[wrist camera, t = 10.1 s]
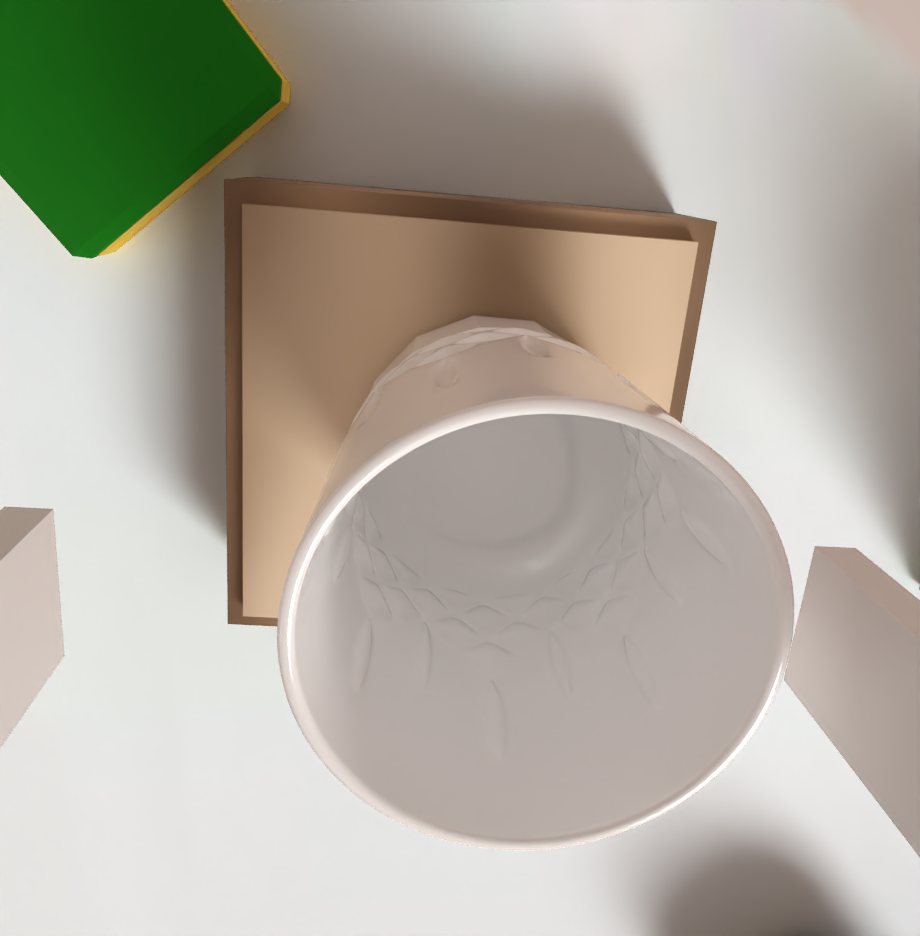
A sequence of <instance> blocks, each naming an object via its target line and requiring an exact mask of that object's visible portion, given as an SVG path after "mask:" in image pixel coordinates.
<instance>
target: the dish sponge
mask: <svg viewBox="0 0 920 936" xmlns="http://www.w3.org/2000/svg"><path fill="white" fill-rule="evenodd" d="M290 91H291V85H290V83H289V82H288V81H287V79H286V78H285V77H284V75H283V74H282V73H281V71H280V70H279V69H278V67H277V66H276V65H275V63H274V62H273V61H272V59H271V58H270V57H269V55H268V54H267V53H266V51H265V50H264V49H263V47H262V46H261V45H260V43H259V42H258V41H257V39H256V38H255V37H254V35H253V34H252V33H251V31H250V30H249V29H248V27H247V26H246V25H245V23H244V22H243V21H242V19H241V18H240V17H239V15H238V14H237V13H236V11H235V10H234V9H233V7H232V6H231V5H230V3H229V2H228V1H227V0H0V175H1V176H2V177H3V179H4V180H5V181H6V182H7V183H8V184H9V185H10V186H11V187H12V189H13V190H14V191H15V192H16V193H17V194H18V195H19V196H20V198H21V199H22V200H23V201H24V202H25V203H26V204H27V205H28V206H29V208H30V209H31V210H32V211H33V212H34V213H35V214H36V215H37V217H38V218H39V219H40V220H41V221H42V222H43V223H44V224H45V225H46V227H47V228H48V229H49V230H50V231H51V232H52V233H53V234H54V236H55V237H56V238H57V239H58V240H59V241H60V242H61V243H62V245H63V246H64V247H65V248H66V249H67V250H68V251H69V252H70V253H71V255H72V256H78V257H86V258H94V257H97V256H101V255H105V254H108V253H112V252H115V251H117V250H118V249H119V248H120V247H122V246H123V245H124V244H125V243H126V242H127V241H129V240H130V239H131V238H132V237H133V236H135V235H136V234H137V233H138V232H139V231H140V230H142V229H143V228H144V227H145V226H146V225H148V224H149V223H150V222H151V221H152V220H153V219H155V218H156V217H157V216H158V215H159V214H161V213H162V212H163V211H164V210H165V209H166V208H168V207H169V206H170V205H171V204H172V203H174V202H175V201H176V200H177V199H178V198H179V197H181V196H182V195H183V194H184V193H185V192H187V191H188V190H189V189H190V188H191V187H192V186H194V185H195V184H196V183H197V182H198V181H200V180H201V179H202V178H203V177H204V176H205V175H207V174H208V173H209V172H210V171H211V170H213V169H214V168H215V167H216V166H217V165H218V164H220V163H221V162H222V161H223V160H224V159H226V158H227V157H228V156H229V155H230V154H231V153H233V152H234V151H235V150H236V149H237V148H239V147H240V146H241V145H242V144H243V143H244V142H246V141H247V140H248V139H249V138H250V137H252V136H253V135H254V134H255V133H256V132H258V131H259V130H260V129H261V128H262V127H263V126H265V125H266V124H267V123H268V122H269V121H271V120H272V119H273V118H274V117H275V116H276V115H278V114H279V113H280V112H281V111H282V110H284V109H285V108H286V107H287V106H288V105H289V104H290Z"/></svg>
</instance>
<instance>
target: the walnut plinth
mask: <svg viewBox="0 0 920 936" xmlns="http://www.w3.org/2000/svg"><path fill="white" fill-rule="evenodd" d="M716 224H717V222H715V221H711V220H706V219H701V218H696V217H691V216H686V215H681V214H676V213H665V212H654V211H642V210H630V209H619V208H607V207H595V206H584V205H572V204H561V203H549V202H537V201H526V200H514V199H502V198H491V197H479V196H468V195H456V194H444V193H433V192H421V191H409V190H398V189H386V188H375V187H363V186H351V185H340V184H328V183H316V182H305V181H293V180H282V179H270V178H258V177H246V178H236V179H225V180H224V228H225V347H226V466H227V585H228V624H242V625H262V626H278V614H279V606H280V600H281V595H282V591H283V587H284V583H285V579H286V576H287V573H288V570H289V567H290V564H291V561H292V559H293V556H294V554H295V552H296V549H297V547H298V545H299V542H300V540H301V538H302V536H303V533H304V531H305V529H306V526H307V524H308V521H309V519H310V517H311V514H312V512H313V509H314V507H315V505H316V502H317V500H318V497H319V495H320V492H321V490H322V487H323V485H324V482H325V480H326V478H327V475H328V472H329V470H330V467H331V465H332V463H333V461H334V458H335V456H336V454H337V452H338V450H339V448H340V446H341V444H342V442H343V440H344V438H345V436H346V435H347V433H348V430H349V428H350V426H351V424H352V422H353V420H354V418H355V416H356V414H357V412H358V411H359V409H360V407H361V406H362V404H363V403H364V401H365V400H366V398H367V397H368V395H369V394H370V391H371V388H372V385H373V383H374V380H375V379H376V378H377V377H378V376H379V375H380V374H381V373H382V372H383V371H384V370H385V369H386V368H387V366H388V365H389V364H390V363H391V362H392V361H393V360H394V359H395V358H396V357H397V356H398V355H399V354H400V353H401V352H402V351H403V350H404V349H405V348H406V347H407V346H408V345H409V344H410V343H411V341H412V340H413V339H414V338H415V337H417V336H419V335H422V334H424V333H427V332H430V331H432V330H435V329H438V328H441V327H443V326H446V325H449V324H451V323H454V322H457V321H459V320H462V319H465V318H468V317H470V316H473V315H477V316H487V317H498V318H509V319H519V320H530V321H535V322H537V323H539V324H540V325H542V326H544V327H545V328H547V329H548V330H550V331H552V332H553V333H555V334H557V335H558V336H560V337H561V338H563V339H565V340H566V341H568V342H570V343H573V344H575V345H577V346H579V347H581V348H583V349H585V350H587V351H588V352H590V353H591V354H593V355H594V356H595V357H597V358H598V359H599V360H601V361H602V362H604V363H605V364H607V365H608V366H609V367H611V368H612V369H613V370H615V371H616V372H617V373H619V374H620V375H622V376H623V377H625V378H626V379H628V380H629V381H630V382H632V383H633V384H634V385H636V386H637V387H638V388H639V389H640V390H642V391H643V392H644V393H645V394H646V395H648V396H649V397H650V398H651V399H652V400H654V401H655V402H656V403H657V404H658V405H660V406H661V407H662V408H663V409H664V410H665V411H667V412H668V413H669V414H670V415H671V416H673V417H674V418H675V419H676V420H677V421H679V422H680V423H681V422H682V416H683V411H684V405H685V399H686V394H687V388H688V382H689V377H690V371H691V365H692V360H693V354H694V348H695V343H696V337H697V331H698V326H699V320H700V314H701V309H702V303H703V298H704V292H705V286H706V281H707V275H708V269H709V264H710V258H711V252H712V247H713V241H714V235H715V230H716Z"/></svg>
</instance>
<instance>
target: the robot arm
mask: <svg viewBox="0 0 920 936" xmlns="http://www.w3.org/2000/svg"><path fill="white" fill-rule="evenodd" d="M63 657H64V645H63V632H62V619H61V605H60V592H59V578H58V565H57V552H56V538H55V525H54V512H53V509H41V508H20V507H4V508H3V509H2V510H0V748H1V747H2V745H3V744H4V742H5V741H6V739H7V738H8V736H9V735H10V734H11V732H12V731H13V729H14V728H15V726H16V725H17V723H18V722H19V721H20V719H21V718H22V716H23V715H24V713H25V712H26V710H27V709H28V707H29V706H30V705H31V703H32V702H33V700H34V699H35V697H36V696H37V694H38V693H39V691H40V690H41V689H42V687H43V686H44V684H45V683H46V681H47V680H48V678H49V677H50V676H51V674H52V673H53V671H54V670H55V668H56V667H57V665H58V664H59V662H60V661H61V660H62V658H63ZM784 681H785V682H786V683H787V685H788V686H789V687H790V688H791V690H792V691H793V692H794V694H795V695H796V696H797V698H798V699H799V700H800V701H801V703H802V704H803V705H804V707H805V708H806V709H807V711H808V712H809V713H810V715H811V716H812V717H813V718H814V720H815V721H816V722H817V724H818V725H819V726H820V728H821V729H822V730H823V732H824V733H825V734H826V735H827V737H828V738H829V739H830V741H831V742H832V743H833V745H834V746H835V747H836V748H837V750H838V751H839V752H840V754H841V755H842V756H843V758H844V759H845V760H846V762H847V763H848V764H849V765H850V767H851V768H852V769H853V771H854V772H855V773H856V775H857V776H858V777H859V779H860V780H861V781H862V782H863V784H864V785H865V786H866V788H867V789H868V790H869V792H870V793H871V794H872V795H873V797H874V798H875V799H876V801H877V802H878V803H879V805H880V806H881V807H882V809H883V810H884V811H885V812H886V814H887V815H888V816H889V818H890V819H891V820H892V822H893V823H894V824H895V825H896V827H897V828H898V829H899V831H900V832H901V833H902V835H903V836H904V837H905V839H906V840H907V841H908V842H909V844H910V845H911V846H912V848H913V849H914V850H915V852H916V853H917V854H918V856H919V857H920V600H919V599H917V598H916V597H915V596H914V595H912V594H911V593H910V592H909V591H908V590H906V589H905V588H904V587H903V586H901V585H900V584H899V583H898V582H897V581H895V580H894V579H893V578H892V577H890V576H889V575H888V574H887V573H885V572H884V571H883V570H882V569H881V568H879V567H878V566H877V565H876V564H874V563H873V562H872V561H871V560H870V559H868V558H867V557H866V556H865V555H863V554H862V553H861V552H860V551H858V550H857V549H856V548H840V547H820V546H815V548H814V553H813V557H812V561H811V566H810V570H809V574H808V578H807V583H806V587H805V591H804V595H803V600H802V604H801V608H800V612H799V617H798V621H797V625H796V629H795V634H794V638H793V642H792V647H791V651H790V655H789V659H788V664H787V668H786V672H785V676H784Z"/></svg>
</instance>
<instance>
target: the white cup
mask: <svg viewBox="0 0 920 936" xmlns="http://www.w3.org/2000/svg"><path fill="white" fill-rule="evenodd" d="M793 625H794V596H793V586H792V579H791V573H790V568H789V564H788V560H787V556H786V553H785V550H784V547H783V544H782V541H781V539H780V536H779V534H778V531H777V529H776V527H775V525H774V523H773V521H772V519H771V517H770V515H769V513H768V512H767V510H766V508H765V507H764V505H763V503H762V502H761V500H760V499H759V497H758V496H757V495H756V493H755V492H754V491H753V489H752V488H751V487H750V485H749V484H748V483H747V482H746V481H745V479H744V478H743V477H742V476H741V475H740V474H739V473H738V472H737V471H736V470H735V469H734V468H733V467H732V466H731V465H730V464H729V463H728V462H727V461H726V460H725V459H724V458H723V457H722V456H720V455H719V454H718V453H717V452H716V451H714V450H713V449H712V448H711V447H709V446H708V445H707V444H706V443H704V442H703V441H702V440H701V439H699V438H698V437H697V436H696V435H694V434H693V433H692V432H691V431H690V430H688V429H687V428H686V427H685V426H683V425H682V424H681V423H680V422H679V421H677V420H676V419H675V418H674V417H673V416H671V415H670V414H669V413H668V412H667V411H665V410H664V409H663V408H662V407H661V406H660V405H658V404H657V403H656V402H655V401H654V400H652V399H651V398H650V397H649V396H648V395H646V394H645V393H644V392H643V391H642V390H640V389H639V388H638V387H637V386H636V385H634V384H633V383H632V382H630V381H629V380H628V379H626V378H625V377H623V376H622V375H620V374H619V373H617V372H616V371H615V370H613V369H612V368H611V367H609V366H608V365H607V364H605V363H604V362H602V361H601V360H599V359H598V358H597V357H595V356H594V355H593V354H591V353H590V352H588V351H587V350H585V349H583V348H581V347H579V346H577V345H575V344H573V343H570V342H568V341H566V340H565V339H563V338H561V337H560V336H558V335H557V334H555V333H553V332H552V331H550V330H548V329H547V328H545V327H544V326H542V325H540V324H539V323H537V322H535V321H530V320H519V319H509V318H498V317H487V316H477V315H473V316H470V317H468V318H465V319H462V320H459V321H457V322H454V323H451V324H449V325H446V326H443V327H441V328H438V329H435V330H432V331H430V332H427V333H424V334H422V335H419V336H417V337H415V338H414V339H413V340H412V341H411V343H410V344H409V345H408V346H407V347H406V348H405V349H404V350H403V351H402V352H401V353H400V354H399V355H398V356H397V357H396V358H395V359H394V360H393V361H392V362H391V363H390V364H389V365H388V366H387V368H386V369H385V370H384V371H383V372H382V373H381V374H380V375H379V376H378V377H377V378H376V379H375V380H374V383H373V385H372V388H371V391H370V394H369V395H368V397H367V398H366V400H365V401H364V403H363V404H362V406H361V407H360V409H359V411H358V412H357V414H356V416H355V418H354V420H353V422H352V424H351V426H350V428H349V430H348V433H347V435H346V436H345V438H344V440H343V442H342V444H341V446H340V448H339V450H338V452H337V454H336V456H335V458H334V461H333V463H332V465H331V467H330V470H329V472H328V475H327V478H326V480H325V482H324V485H323V487H322V490H321V492H320V495H319V497H318V500H317V502H316V505H315V507H314V509H313V512H312V514H311V517H310V519H309V521H308V524H307V526H306V529H305V531H304V533H303V536H302V538H301V540H300V542H299V545H298V547H297V549H296V552H295V554H294V556H293V559H292V561H291V564H290V567H289V570H288V573H287V576H286V579H285V583H284V587H283V591H282V595H281V600H280V606H279V614H278V626H277V647H278V659H279V666H280V672H281V677H282V682H283V686H284V689H285V693H286V696H287V699H288V702H289V705H290V708H291V710H292V713H293V715H294V717H295V719H296V721H297V724H298V726H299V728H300V729H301V731H302V733H303V735H304V736H305V738H306V740H307V741H308V743H309V745H310V746H311V748H312V749H313V750H314V752H315V753H316V755H317V756H318V757H319V759H320V760H321V761H322V762H323V764H324V765H325V766H326V767H327V768H328V769H329V771H330V772H331V773H332V774H333V775H334V776H335V777H336V778H337V779H338V780H339V781H340V782H341V783H342V784H343V785H344V786H345V787H347V788H348V789H349V790H350V791H351V792H352V793H354V794H355V795H356V796H357V797H359V798H360V799H361V800H363V801H364V802H365V803H367V804H368V805H370V806H371V807H373V808H374V809H376V810H377V811H379V812H380V813H382V814H384V815H385V816H387V817H389V818H391V819H393V820H395V821H397V822H399V823H401V824H403V825H405V826H407V827H409V828H412V829H414V830H416V831H419V832H421V833H424V834H427V835H430V836H433V837H436V838H439V839H442V840H446V841H450V842H454V843H458V844H462V845H467V846H473V847H479V848H487V849H497V850H545V849H555V848H563V847H569V846H575V845H580V844H585V843H589V842H593V841H597V840H601V839H604V838H608V837H611V836H614V835H617V834H620V833H623V832H625V831H628V830H631V829H633V828H635V827H638V826H640V825H642V824H645V823H647V822H649V821H651V820H653V819H655V818H657V817H659V816H661V815H663V814H664V813H666V812H668V811H670V810H671V809H673V808H675V807H676V806H678V805H679V804H681V803H683V802H684V801H686V800H687V799H688V798H690V797H691V796H693V795H694V794H695V793H697V792H698V791H699V790H701V789H702V788H703V787H704V786H706V785H707V784H708V783H709V782H710V781H712V780H713V779H714V778H715V777H716V776H717V775H718V774H719V773H720V772H722V771H723V770H724V769H725V768H726V767H727V766H728V765H729V764H730V763H731V761H732V760H733V759H734V758H735V757H736V756H737V755H738V754H739V752H740V751H741V750H742V749H743V748H744V746H745V745H746V744H747V743H748V741H749V740H750V739H751V737H752V736H753V734H754V733H755V731H756V730H757V728H758V727H759V725H760V724H761V722H762V721H763V719H764V717H765V715H766V714H767V712H768V710H769V708H770V706H771V704H772V702H773V700H774V698H775V696H776V693H777V691H778V689H779V686H780V684H781V681H782V678H783V675H784V672H785V669H786V665H787V662H788V658H789V653H790V648H791V642H792V635H793Z"/></svg>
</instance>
